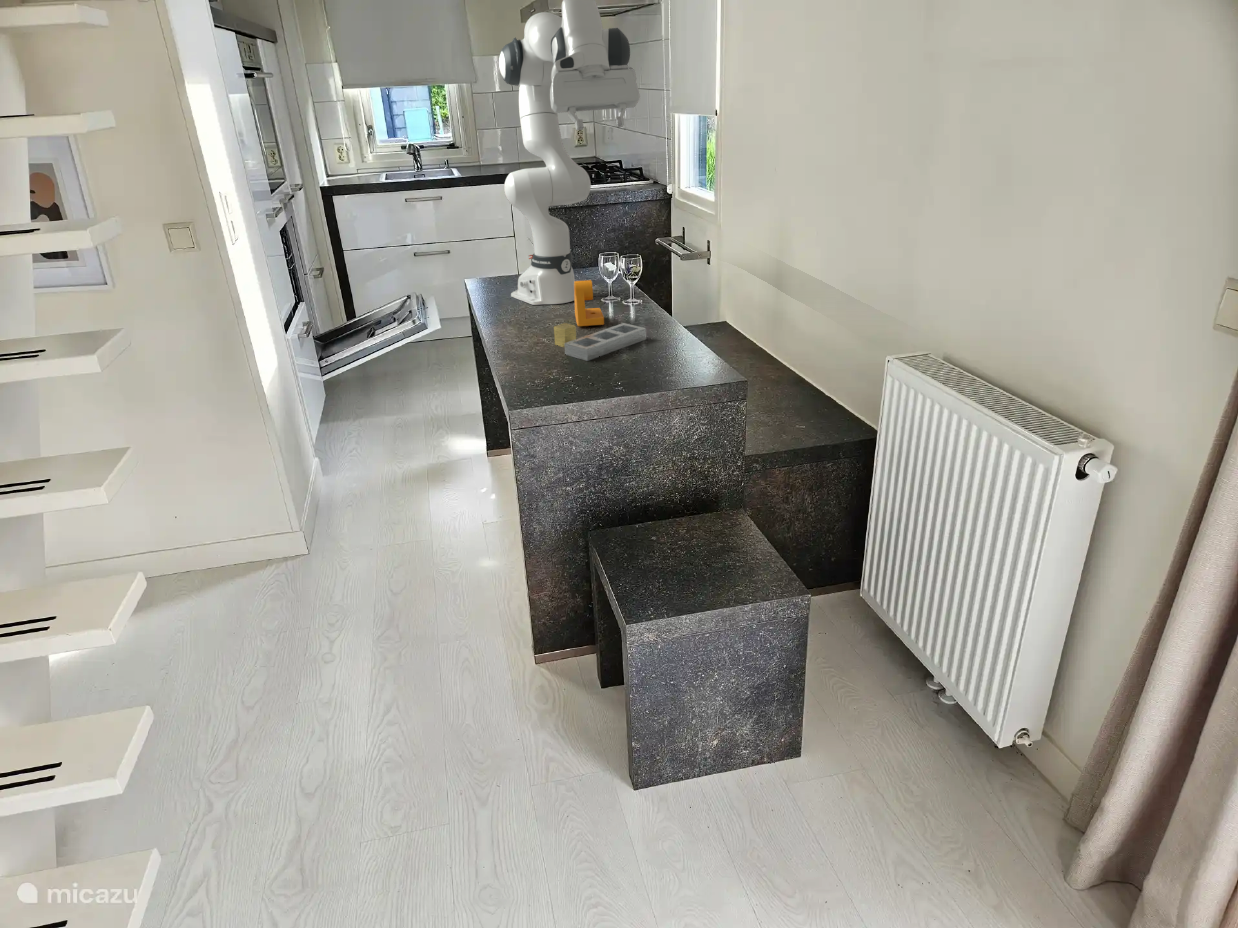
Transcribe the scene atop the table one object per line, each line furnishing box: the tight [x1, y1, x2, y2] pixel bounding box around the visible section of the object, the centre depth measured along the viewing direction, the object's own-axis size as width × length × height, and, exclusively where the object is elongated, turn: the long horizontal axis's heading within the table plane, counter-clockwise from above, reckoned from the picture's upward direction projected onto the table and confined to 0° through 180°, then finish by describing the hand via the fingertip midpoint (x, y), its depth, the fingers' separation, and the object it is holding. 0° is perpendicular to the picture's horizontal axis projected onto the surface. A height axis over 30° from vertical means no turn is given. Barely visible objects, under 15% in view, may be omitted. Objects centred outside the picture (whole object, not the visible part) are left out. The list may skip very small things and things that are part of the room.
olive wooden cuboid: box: [553, 322, 577, 348], centre depth 211 cm, size 4×4×5 cm
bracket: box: [574, 279, 605, 327], centre depth 227 cm, size 11×7×12 cm, turn 8°
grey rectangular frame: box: [564, 322, 647, 361], centre depth 209 cm, size 8×22×3 cm, turn 137°
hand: (600, 127), depth 183 cm, fingers open, 8 cm apart
